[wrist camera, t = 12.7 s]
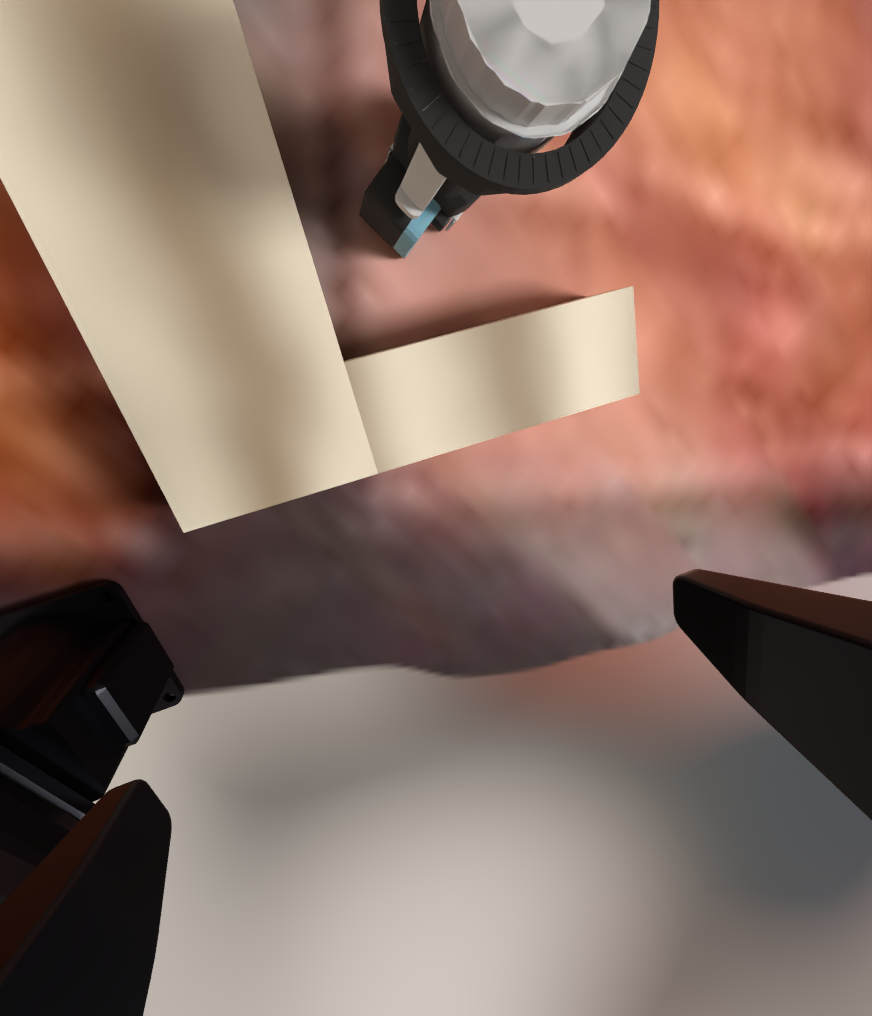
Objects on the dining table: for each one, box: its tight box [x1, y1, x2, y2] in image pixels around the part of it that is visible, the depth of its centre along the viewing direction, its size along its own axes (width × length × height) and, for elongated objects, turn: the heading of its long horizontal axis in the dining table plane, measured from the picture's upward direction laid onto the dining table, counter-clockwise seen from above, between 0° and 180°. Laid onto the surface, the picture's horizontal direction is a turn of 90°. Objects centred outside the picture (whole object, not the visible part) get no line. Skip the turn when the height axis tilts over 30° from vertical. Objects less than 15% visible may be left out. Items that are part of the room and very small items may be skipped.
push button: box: [360, 0, 659, 258], centre depth 11 cm, size 7×5×10 cm
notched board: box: [0, 0, 639, 533], centre depth 14 cm, size 18×18×3 cm
